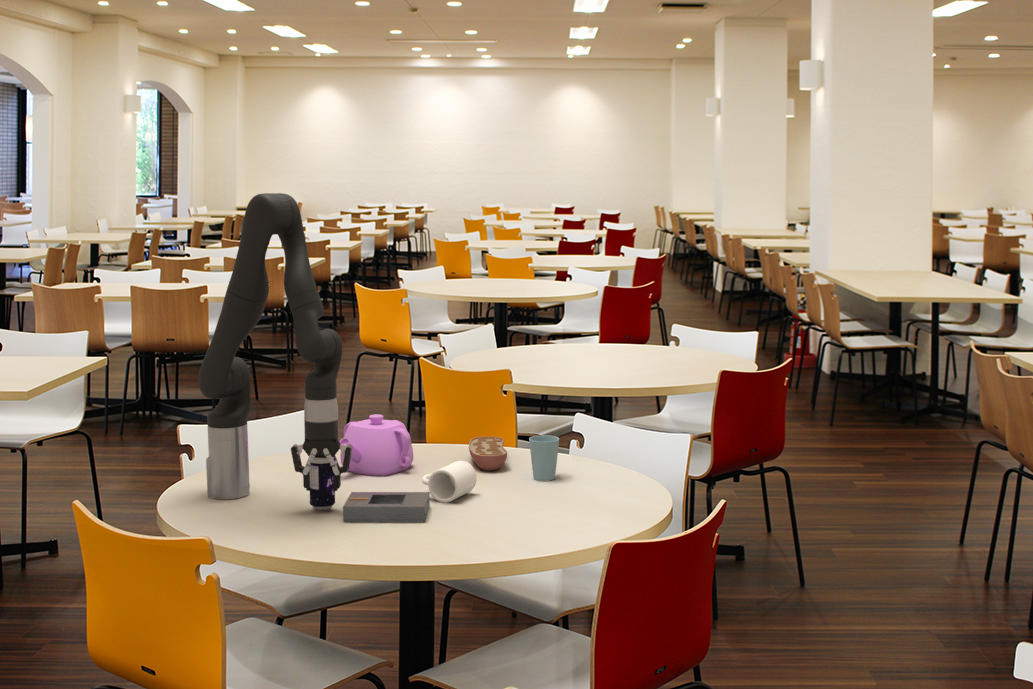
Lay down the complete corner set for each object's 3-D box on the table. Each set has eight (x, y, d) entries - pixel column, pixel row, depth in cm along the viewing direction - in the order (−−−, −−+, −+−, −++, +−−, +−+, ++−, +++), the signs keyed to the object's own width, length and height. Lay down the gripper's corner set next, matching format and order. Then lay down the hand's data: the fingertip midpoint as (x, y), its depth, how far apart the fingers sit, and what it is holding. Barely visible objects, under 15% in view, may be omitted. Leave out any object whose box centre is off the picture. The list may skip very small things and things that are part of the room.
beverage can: (329, 511, 241) (328, 459, 239) (306, 509, 242) (305, 457, 241) (338, 504, 247) (338, 453, 245) (315, 502, 248) (314, 452, 246)
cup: (533, 482, 268) (533, 442, 267) (525, 475, 276) (525, 435, 274) (562, 481, 270) (562, 440, 269) (554, 473, 277) (554, 434, 276)
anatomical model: (508, 474, 278) (508, 455, 277) (470, 474, 277) (470, 456, 276) (502, 453, 300) (502, 436, 300) (467, 454, 300) (467, 436, 299)
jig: (343, 522, 235) (342, 505, 235) (351, 506, 247) (351, 491, 247) (424, 522, 235) (424, 505, 235) (429, 506, 247) (429, 491, 247)
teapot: (412, 458, 294) (411, 407, 292) (414, 478, 273) (413, 423, 271) (342, 461, 292) (340, 409, 290) (339, 480, 271) (337, 425, 269)
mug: (477, 494, 258) (477, 462, 257) (457, 504, 249) (457, 471, 248) (433, 488, 263) (433, 457, 262) (413, 499, 254) (412, 466, 253)
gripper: (285, 420, 238) (287, 494, 240) (350, 421, 238) (351, 495, 240) (293, 413, 245) (294, 485, 248) (355, 414, 245) (356, 486, 248)
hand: (322, 489), depth 244 cm, fingers closed on beverage can, 5 cm apart
